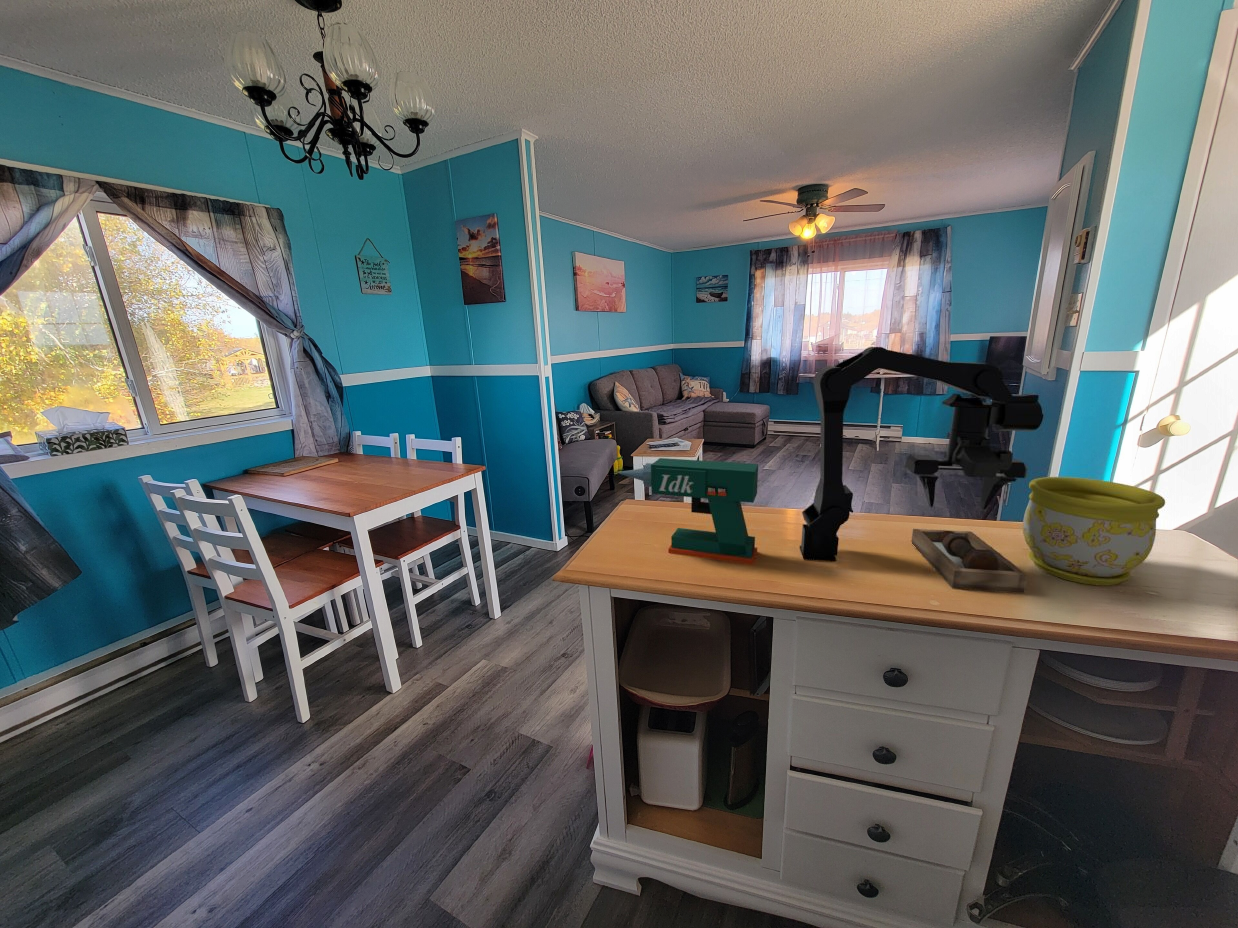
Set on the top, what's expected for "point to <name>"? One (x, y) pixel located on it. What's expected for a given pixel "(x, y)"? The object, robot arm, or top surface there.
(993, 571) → the wooden tray
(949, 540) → the bolt
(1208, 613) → the top surface
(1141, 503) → the flowerpot
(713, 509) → the power tool
